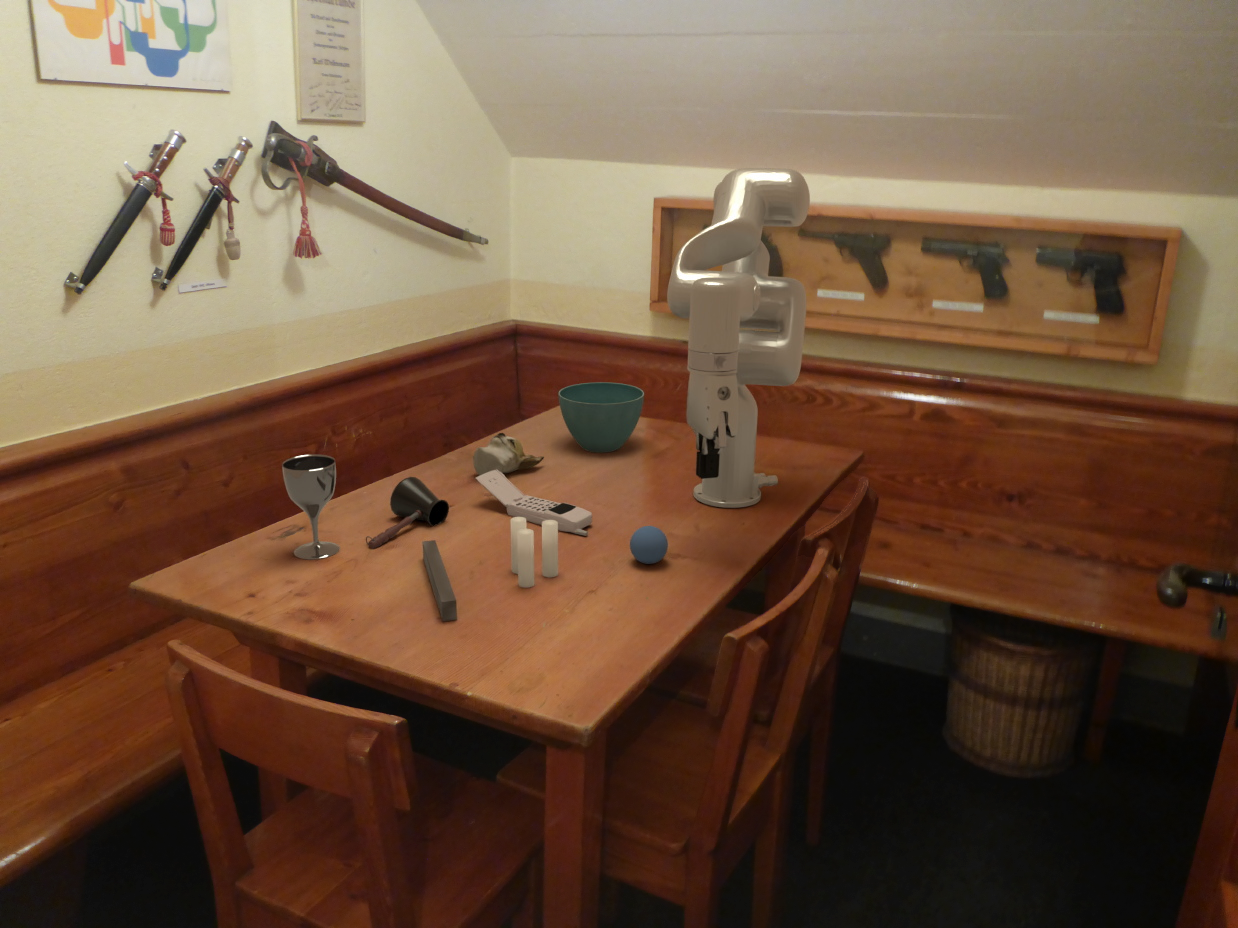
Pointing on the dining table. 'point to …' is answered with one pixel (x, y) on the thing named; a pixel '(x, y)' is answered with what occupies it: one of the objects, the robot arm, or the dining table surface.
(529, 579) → the pin
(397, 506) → the coffee pot
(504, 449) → the ceramic sculpture
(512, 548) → the pin
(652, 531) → the ball
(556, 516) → the mobile phone
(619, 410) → the teal bowl
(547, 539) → the front pin
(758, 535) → the dining table surface
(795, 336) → the robot arm
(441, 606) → the back wall
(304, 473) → the silver goblet
